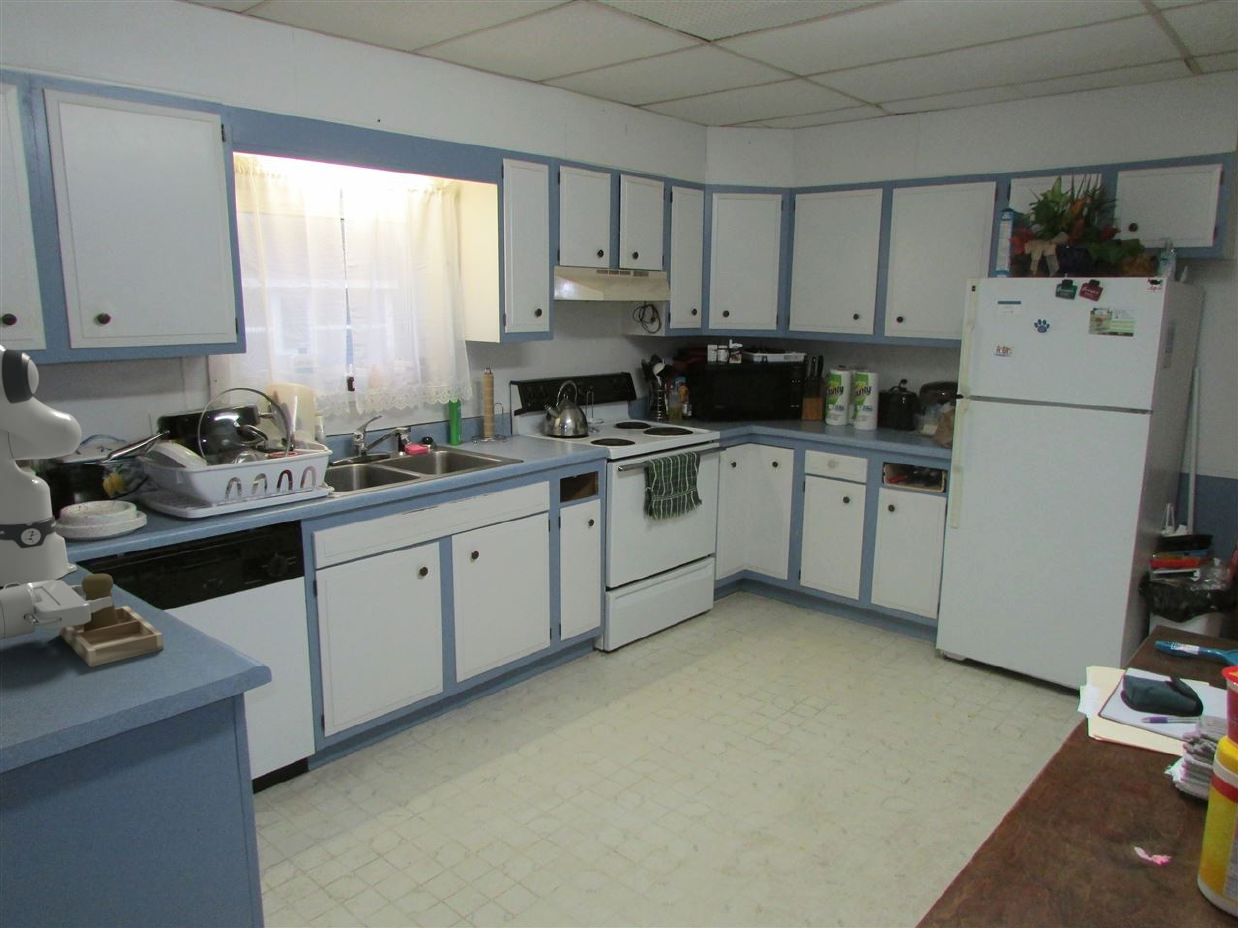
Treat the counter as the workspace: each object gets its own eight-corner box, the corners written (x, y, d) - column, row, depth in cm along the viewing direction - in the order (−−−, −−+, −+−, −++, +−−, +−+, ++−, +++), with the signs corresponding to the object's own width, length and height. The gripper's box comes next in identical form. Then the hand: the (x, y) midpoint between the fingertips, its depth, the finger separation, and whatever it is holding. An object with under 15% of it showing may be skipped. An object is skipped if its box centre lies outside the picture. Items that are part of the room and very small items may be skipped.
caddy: (59, 634, 164) (58, 619, 164) (128, 619, 173) (126, 605, 172) (90, 667, 150) (88, 651, 149) (163, 649, 158) (162, 633, 158)
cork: (80, 628, 165) (75, 574, 163) (115, 621, 169) (110, 568, 167) (87, 637, 161) (82, 582, 159) (123, 629, 165) (118, 575, 163)
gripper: (30, 609, 146) (119, 591, 156) (4, 581, 160) (88, 567, 170) (34, 643, 147) (122, 624, 157) (8, 613, 162) (91, 597, 171)
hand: (104, 594), depth 164 cm, fingers open, 8 cm apart
